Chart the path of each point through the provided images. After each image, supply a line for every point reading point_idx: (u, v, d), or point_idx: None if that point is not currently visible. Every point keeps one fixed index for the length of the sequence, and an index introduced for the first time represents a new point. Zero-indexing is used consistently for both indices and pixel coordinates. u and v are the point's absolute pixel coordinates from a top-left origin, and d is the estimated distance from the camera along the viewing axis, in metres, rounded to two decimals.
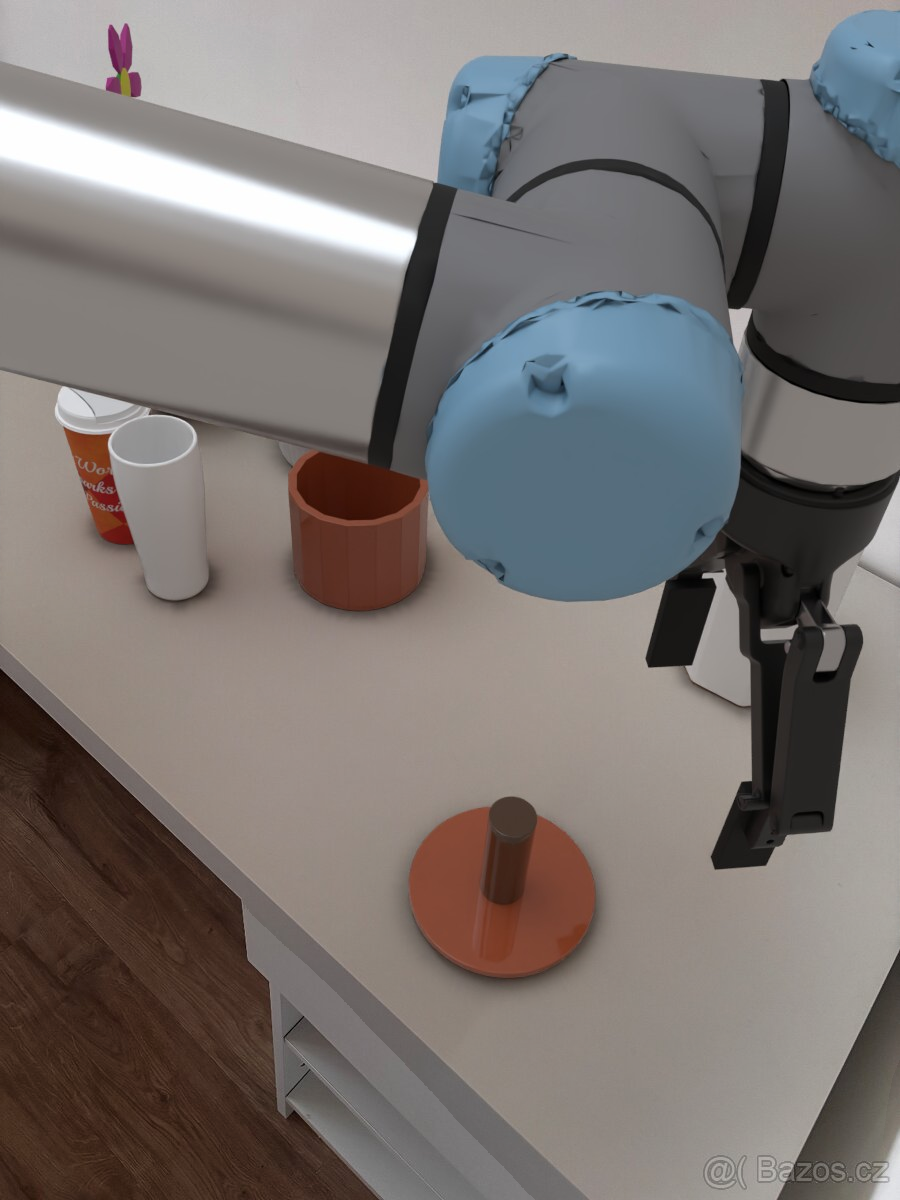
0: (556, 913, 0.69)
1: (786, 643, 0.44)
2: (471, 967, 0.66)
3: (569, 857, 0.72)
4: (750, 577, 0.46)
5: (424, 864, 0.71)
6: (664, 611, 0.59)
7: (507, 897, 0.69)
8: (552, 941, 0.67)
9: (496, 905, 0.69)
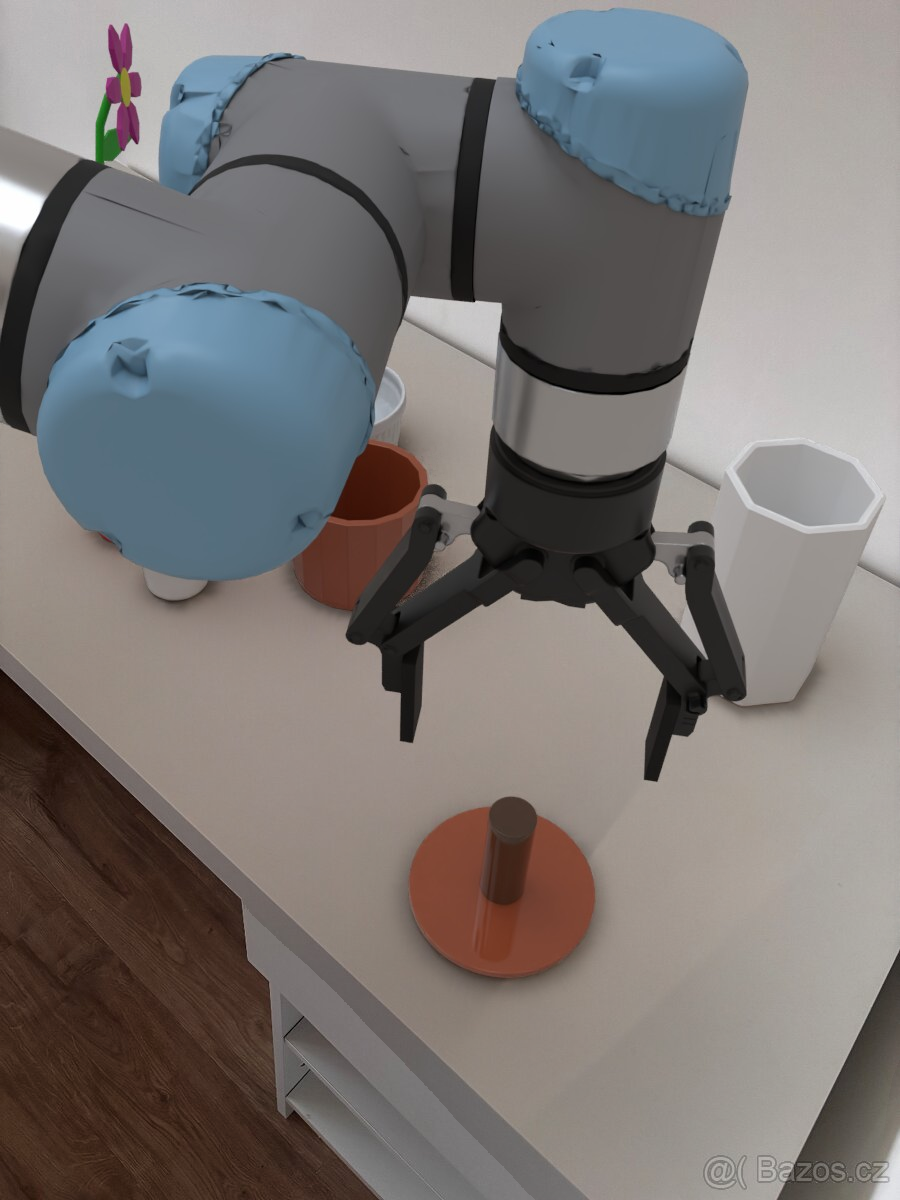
0: (556, 913, 0.69)
1: (678, 578, 0.48)
2: (471, 967, 0.66)
3: (569, 857, 0.72)
4: (597, 568, 0.47)
5: (424, 864, 0.71)
6: (414, 686, 0.56)
7: (507, 897, 0.69)
8: (552, 941, 0.67)
9: (496, 905, 0.69)
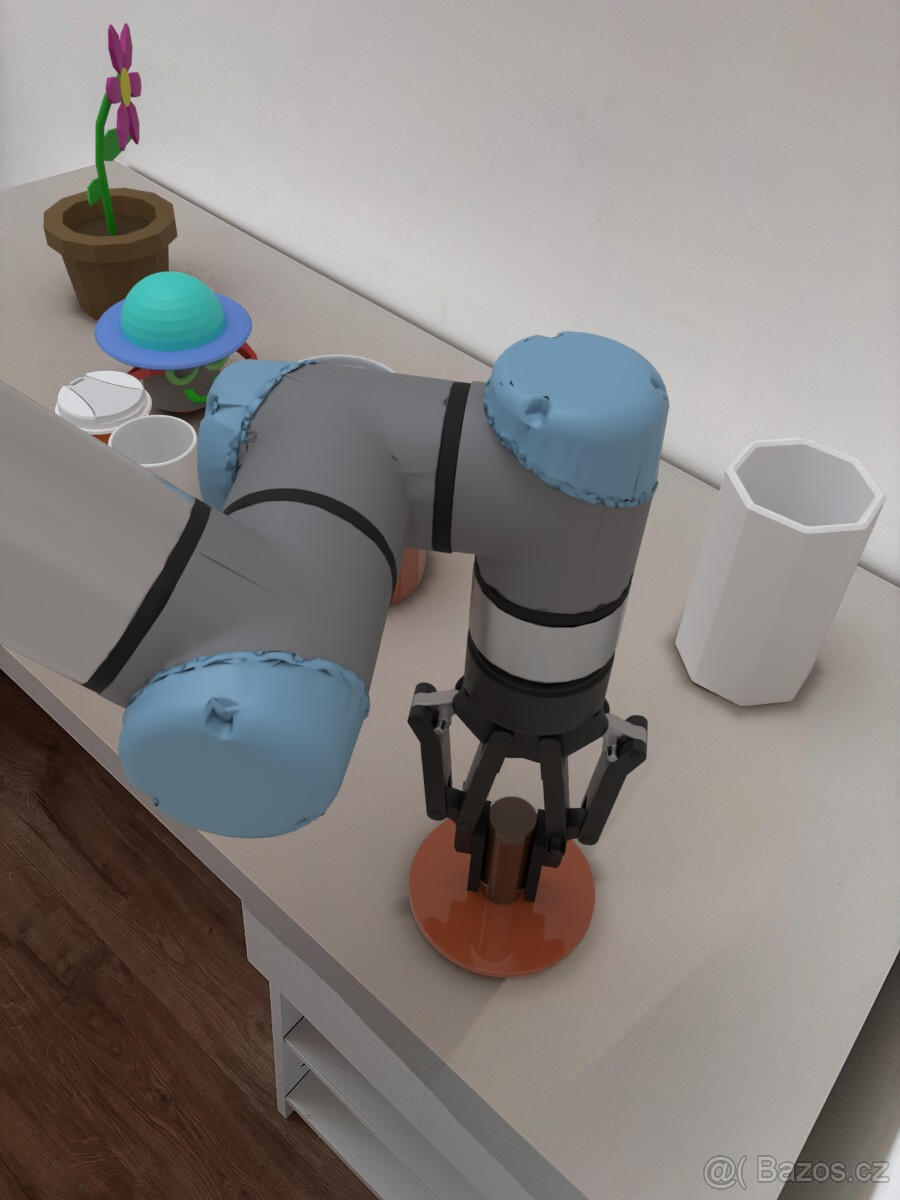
0: (556, 913, 0.69)
1: (611, 757, 0.57)
2: (471, 967, 0.66)
3: (569, 857, 0.72)
4: (559, 738, 0.56)
5: (424, 864, 0.71)
6: (483, 852, 0.66)
7: (507, 897, 0.69)
8: (552, 941, 0.67)
9: (496, 905, 0.69)
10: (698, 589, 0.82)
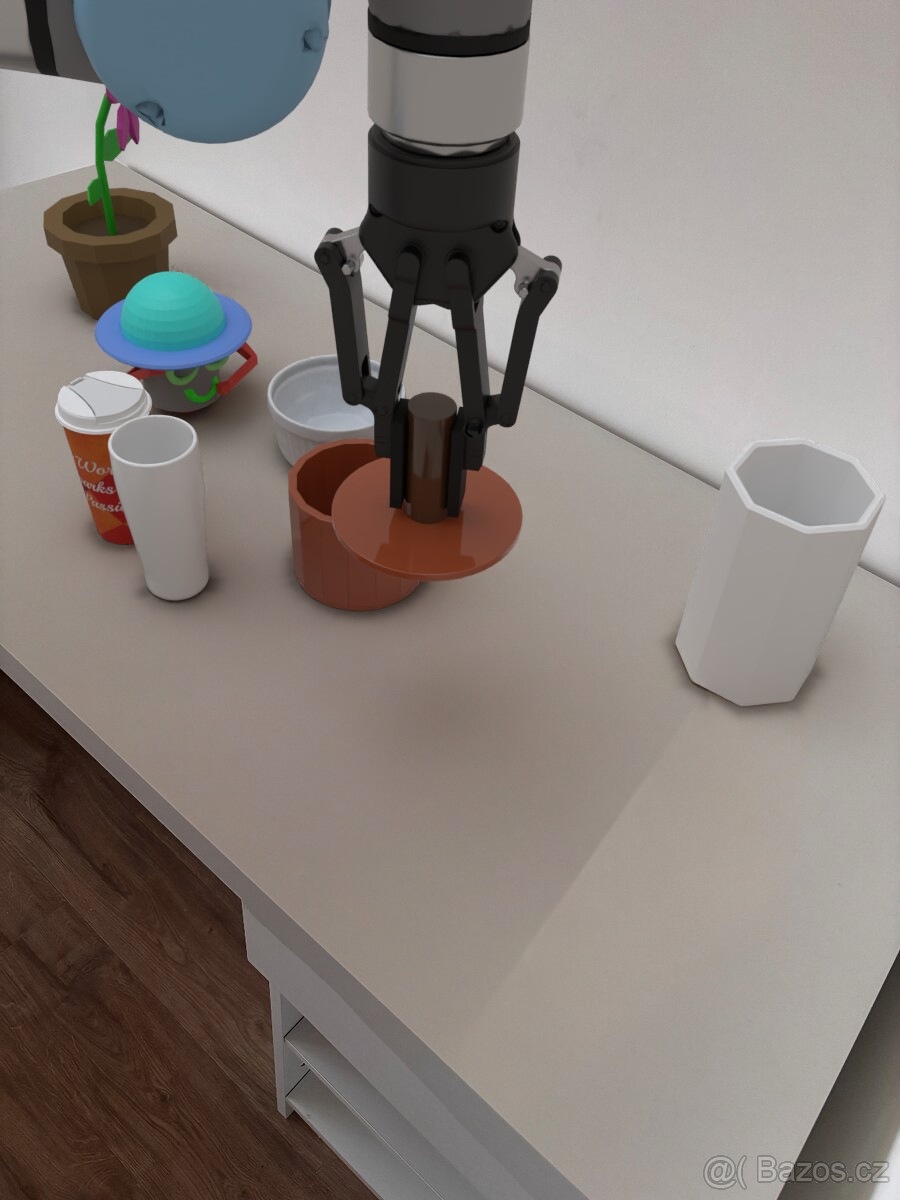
0: (481, 531, 0.67)
1: (522, 291, 0.56)
2: (390, 570, 0.65)
3: (498, 491, 0.70)
4: (466, 261, 0.55)
5: (349, 492, 0.69)
6: (402, 448, 0.64)
7: (430, 512, 0.67)
8: (475, 552, 0.66)
9: (420, 524, 0.68)
10: (698, 589, 0.82)
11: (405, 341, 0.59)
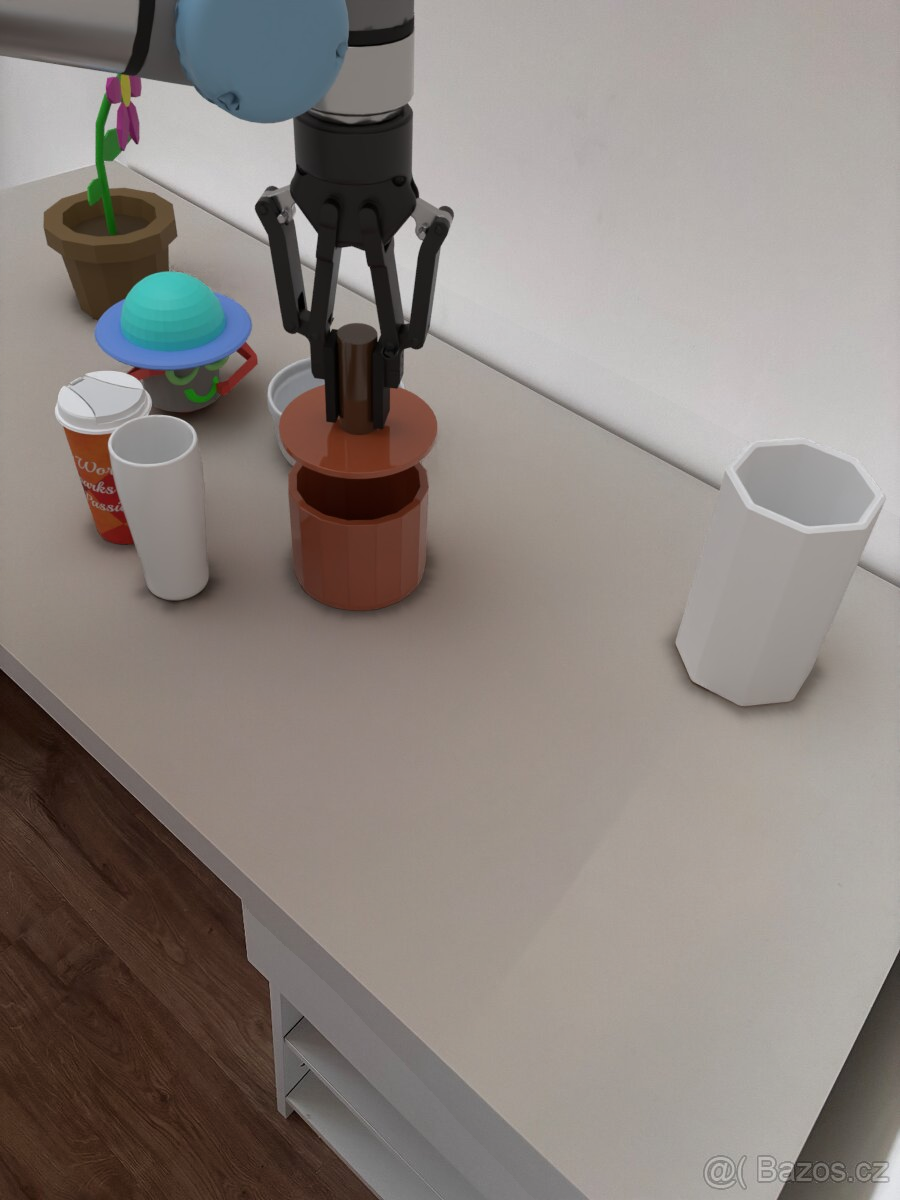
0: (402, 440, 0.81)
1: (421, 234, 0.70)
2: (325, 469, 0.79)
3: (418, 410, 0.84)
4: (375, 210, 0.69)
5: (294, 411, 0.84)
6: (333, 369, 0.78)
7: (360, 425, 0.81)
8: (396, 456, 0.80)
9: (351, 435, 0.82)
10: (698, 589, 0.82)
11: (331, 278, 0.73)
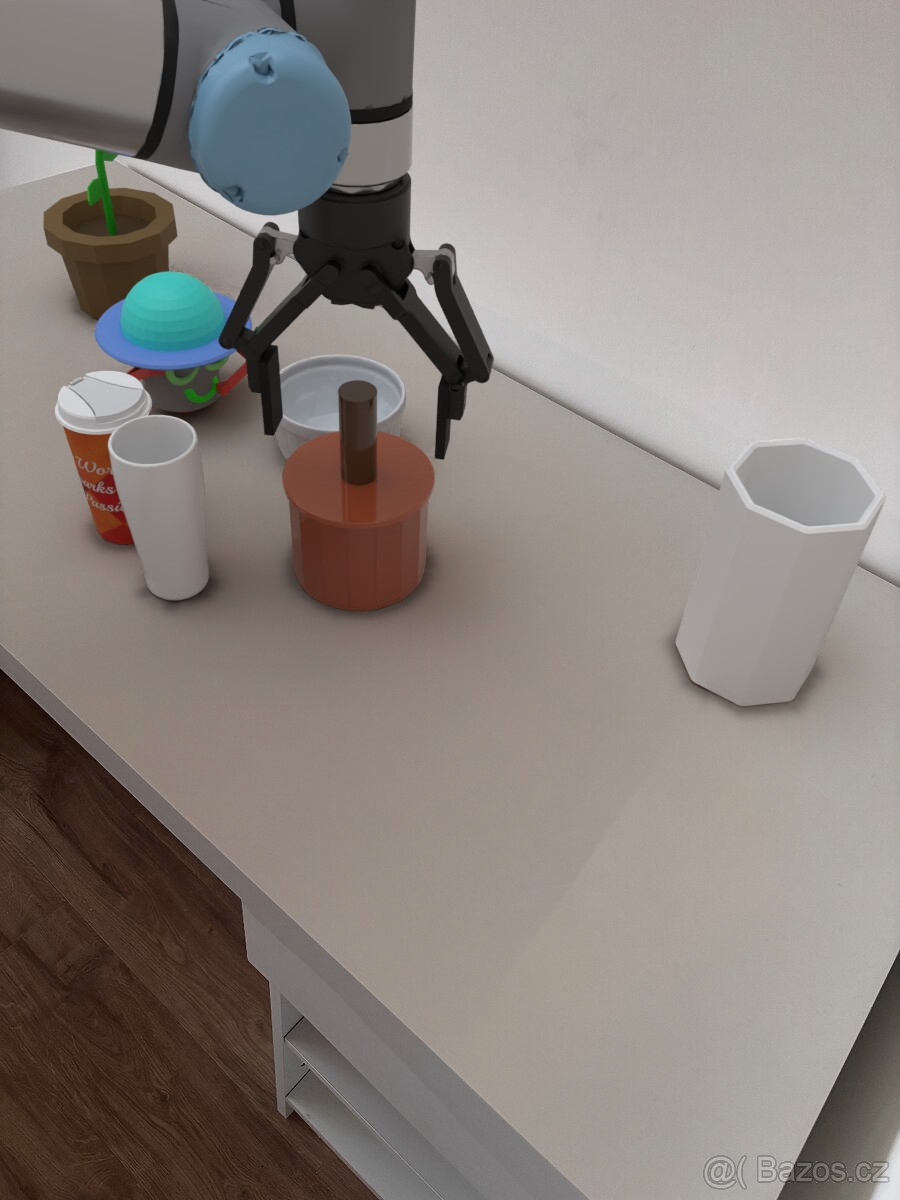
0: (400, 491, 0.85)
1: (428, 279, 0.72)
2: (326, 520, 0.82)
3: (416, 460, 0.88)
4: (374, 271, 0.72)
5: (296, 461, 0.87)
6: (269, 384, 0.80)
7: (360, 476, 0.85)
8: (394, 506, 0.84)
9: (352, 485, 0.85)
10: (698, 589, 0.82)
11: (295, 317, 0.76)
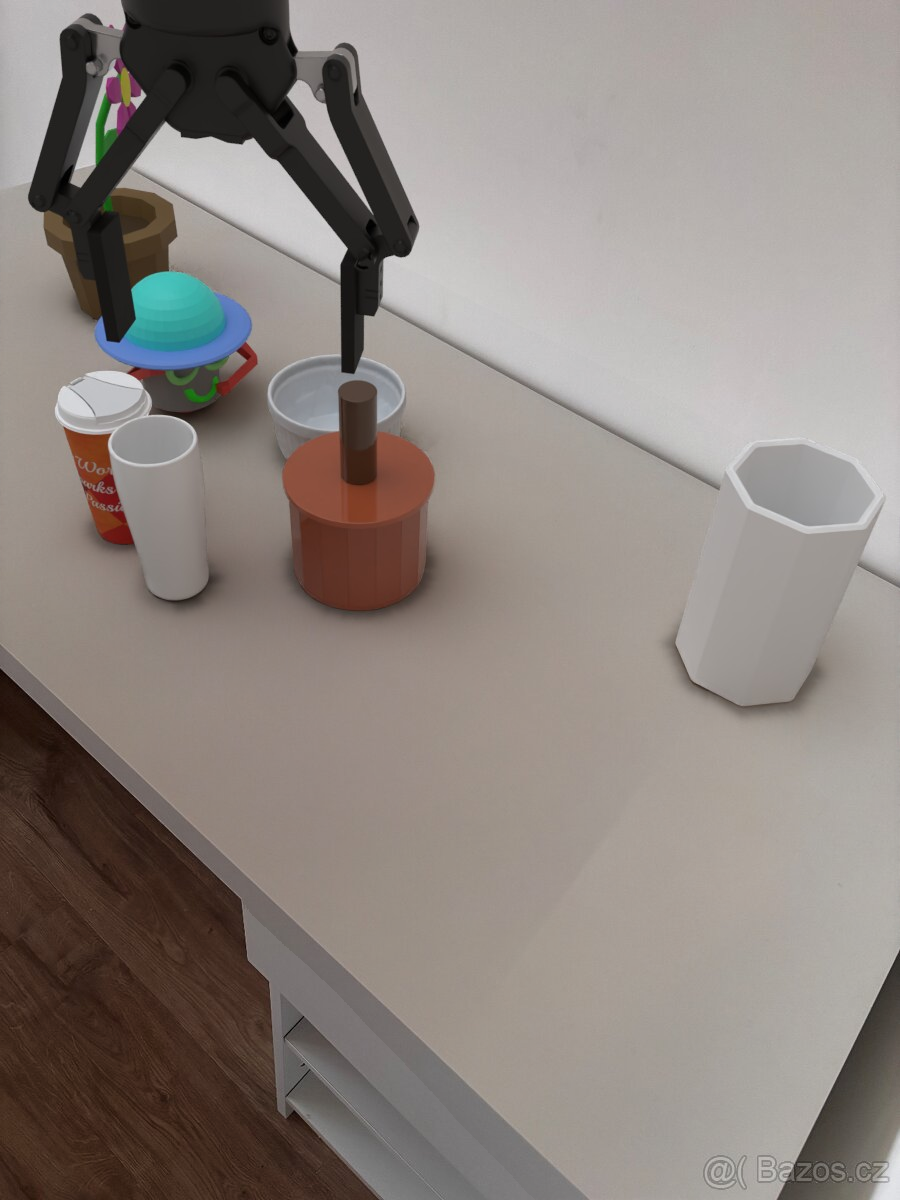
0: (400, 491, 0.85)
1: (317, 93, 0.49)
2: (326, 520, 0.82)
3: (416, 460, 0.88)
4: (237, 79, 0.49)
5: (296, 461, 0.87)
6: (105, 264, 0.57)
7: (360, 476, 0.85)
8: (394, 506, 0.84)
9: (352, 485, 0.85)
10: (698, 589, 0.82)
11: (132, 159, 0.53)
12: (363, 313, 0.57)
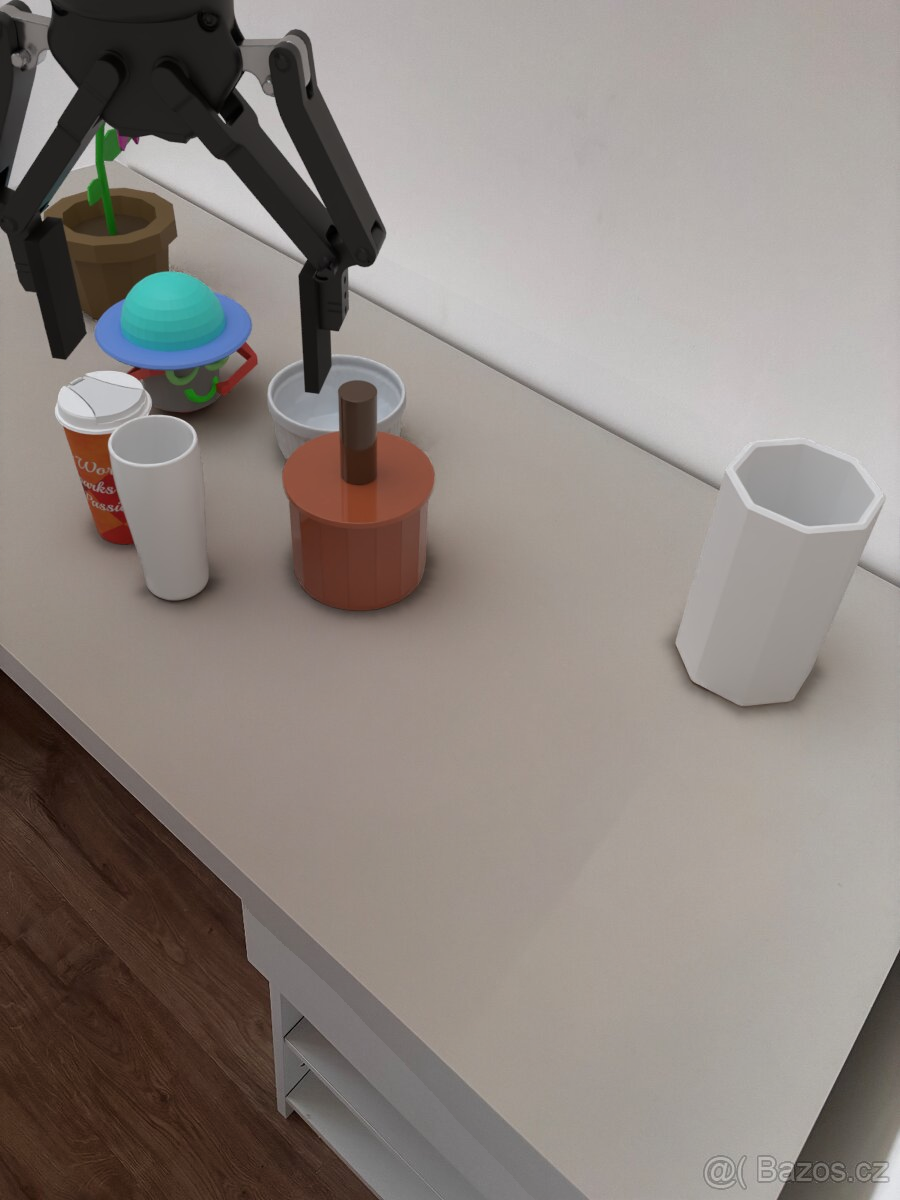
0: (400, 491, 0.85)
1: (265, 86, 0.44)
2: (326, 520, 0.82)
3: (416, 460, 0.88)
4: (175, 71, 0.44)
5: (296, 461, 0.87)
6: (46, 275, 0.52)
7: (360, 476, 0.85)
8: (394, 506, 0.84)
9: (352, 485, 0.85)
10: (698, 589, 0.82)
11: (68, 161, 0.48)
12: (326, 328, 0.52)
